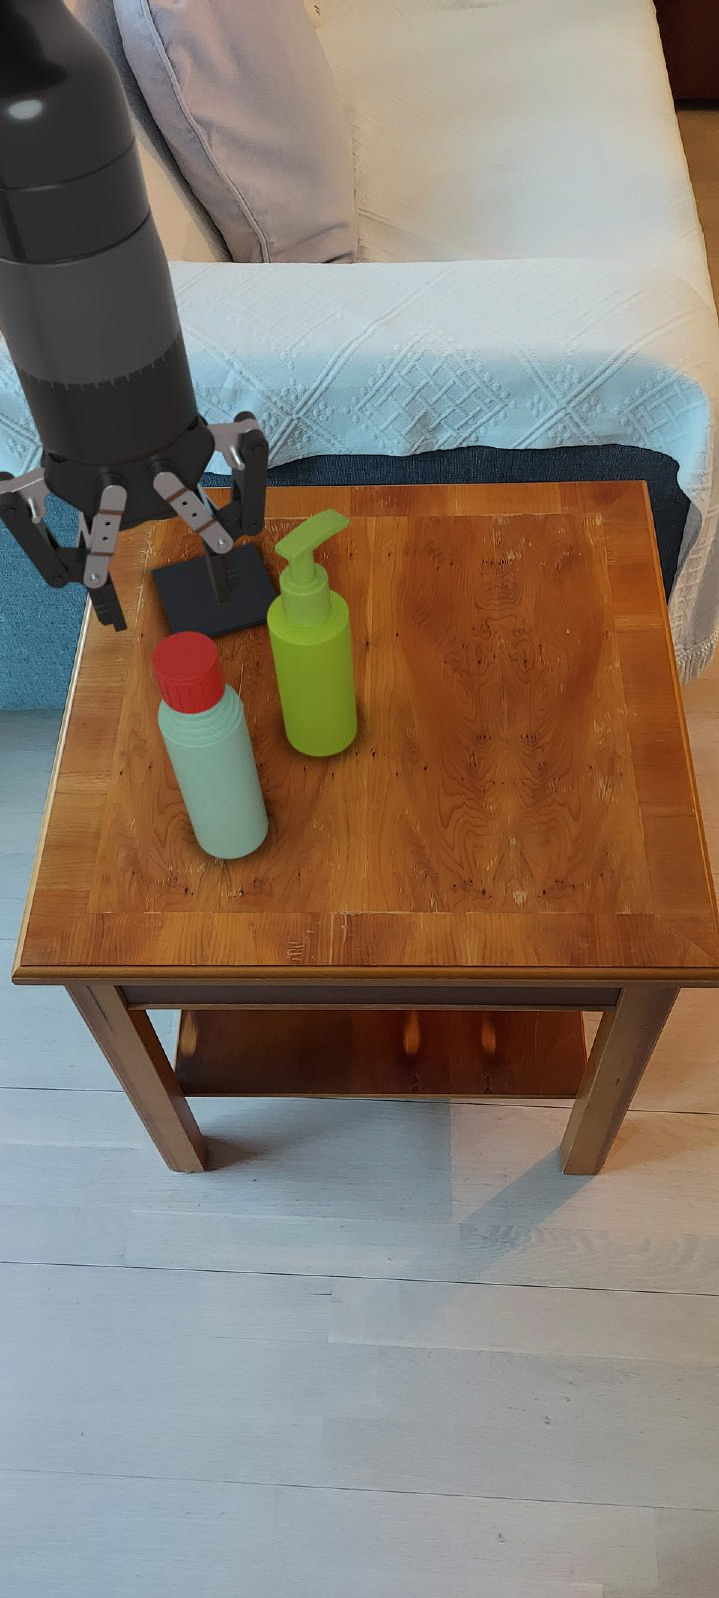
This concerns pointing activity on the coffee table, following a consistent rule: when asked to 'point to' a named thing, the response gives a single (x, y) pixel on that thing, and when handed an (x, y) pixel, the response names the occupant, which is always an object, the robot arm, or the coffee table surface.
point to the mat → (197, 603)
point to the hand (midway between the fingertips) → (170, 605)
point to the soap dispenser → (313, 644)
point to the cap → (189, 672)
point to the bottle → (217, 775)
